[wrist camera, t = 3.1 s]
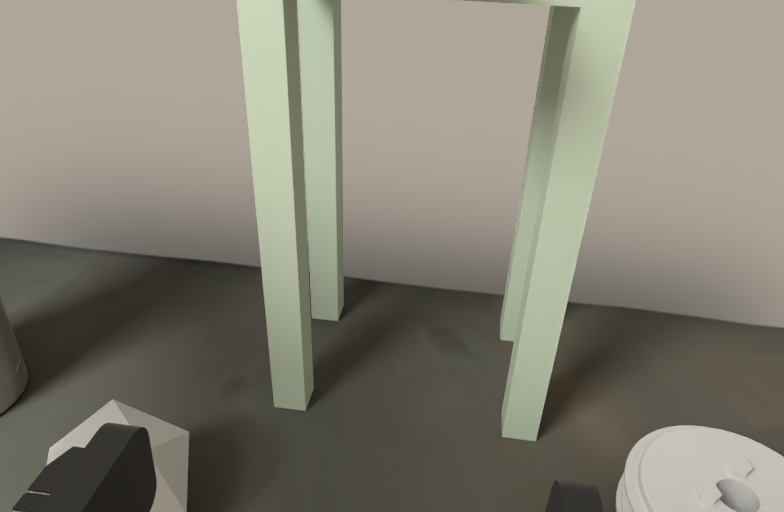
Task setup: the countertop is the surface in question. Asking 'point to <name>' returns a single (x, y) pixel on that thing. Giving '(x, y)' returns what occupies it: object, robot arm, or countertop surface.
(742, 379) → the countertop surface
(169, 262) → the countertop surface
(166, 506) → the die
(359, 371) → the countertop surface
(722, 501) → the lid
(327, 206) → the mint green side table
